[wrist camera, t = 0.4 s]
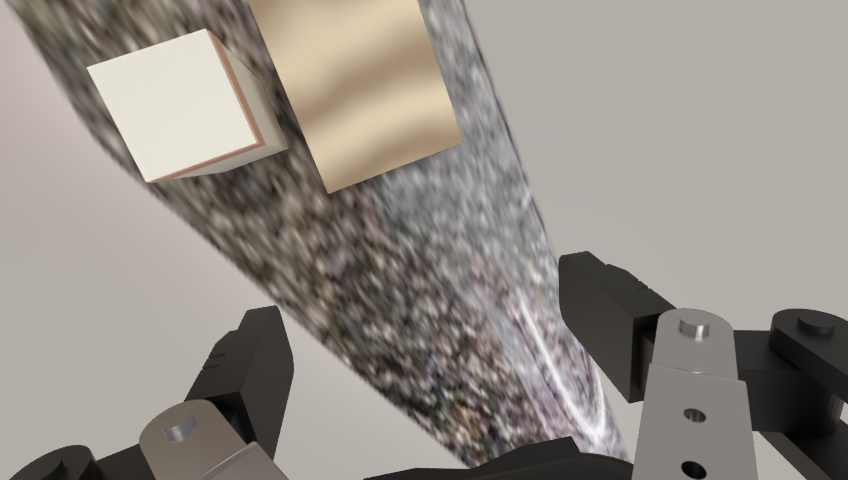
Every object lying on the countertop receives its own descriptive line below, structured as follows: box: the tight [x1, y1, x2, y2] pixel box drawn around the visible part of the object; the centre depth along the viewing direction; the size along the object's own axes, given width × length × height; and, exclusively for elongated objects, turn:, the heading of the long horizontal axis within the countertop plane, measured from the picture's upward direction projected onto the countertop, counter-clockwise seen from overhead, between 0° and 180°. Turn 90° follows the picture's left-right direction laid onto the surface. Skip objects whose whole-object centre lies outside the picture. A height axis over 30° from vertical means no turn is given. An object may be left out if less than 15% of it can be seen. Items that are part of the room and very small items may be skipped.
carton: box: [86, 29, 289, 183], centre depth 28 cm, size 6×6×15 cm
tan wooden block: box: [247, 0, 464, 194], centre depth 34 cm, size 14×11×5 cm
